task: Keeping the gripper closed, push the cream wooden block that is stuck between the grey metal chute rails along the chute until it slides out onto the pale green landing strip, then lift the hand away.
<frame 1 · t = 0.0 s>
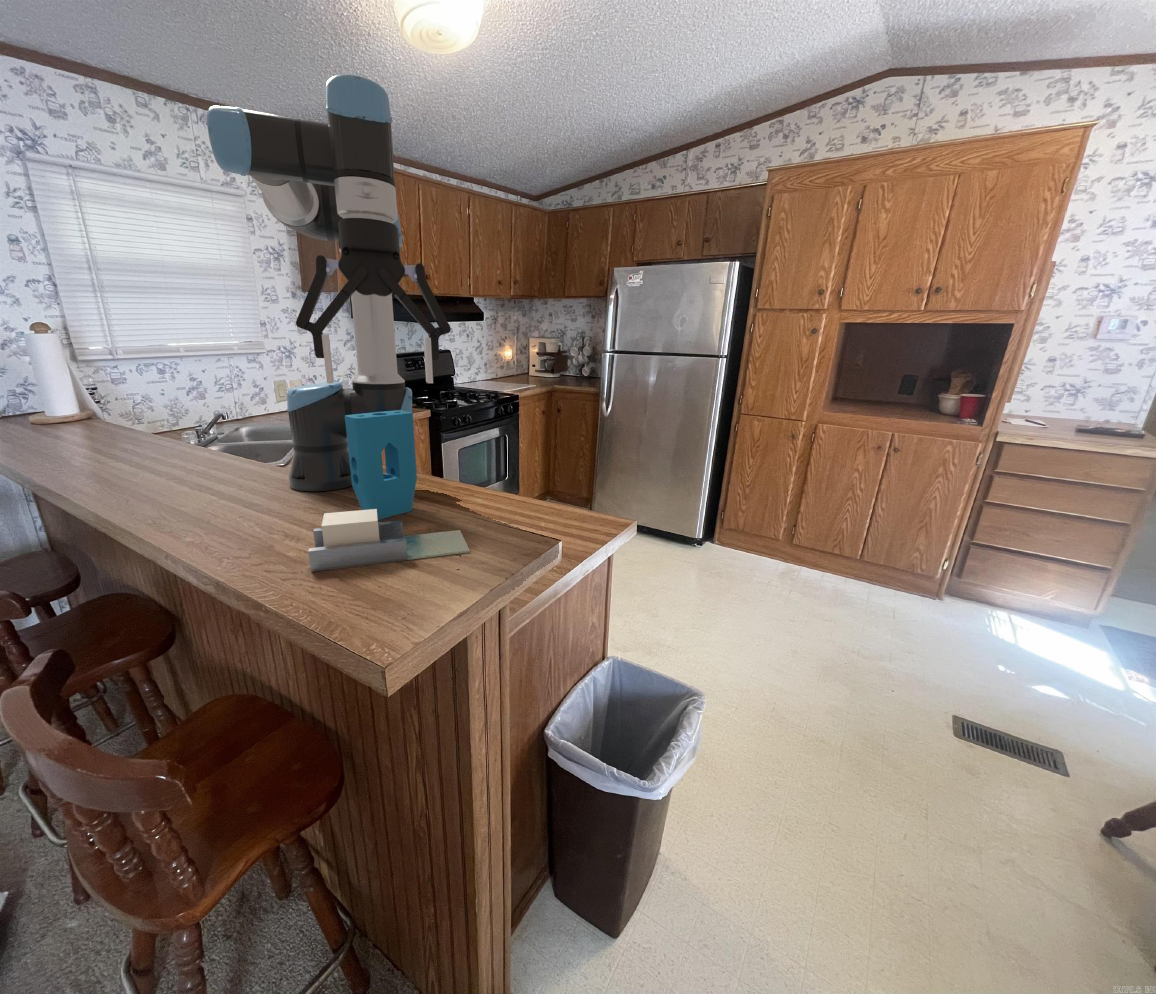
hand: (381, 382, 74), 28 cm above the table, fingers open, 13 cm apart
jammed block: (352, 534, 82), point 4 cm above the table, slide at 0.0 cm
block: (388, 513, 103), on the table
chute: (361, 553, 84), on the table
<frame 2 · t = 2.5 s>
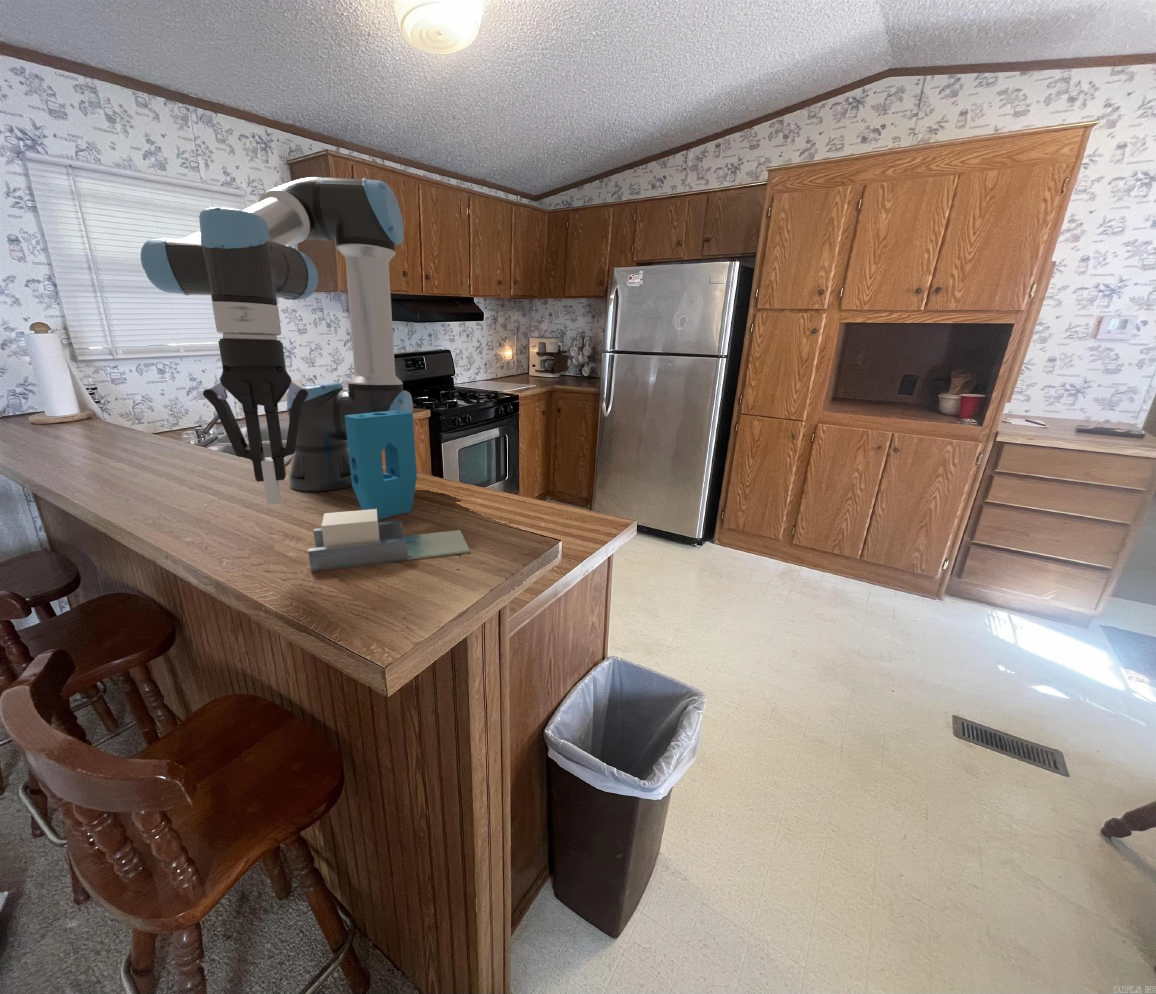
hand: (274, 501, 76), 10 cm above the table, fingers closed
nothing on the table moved.
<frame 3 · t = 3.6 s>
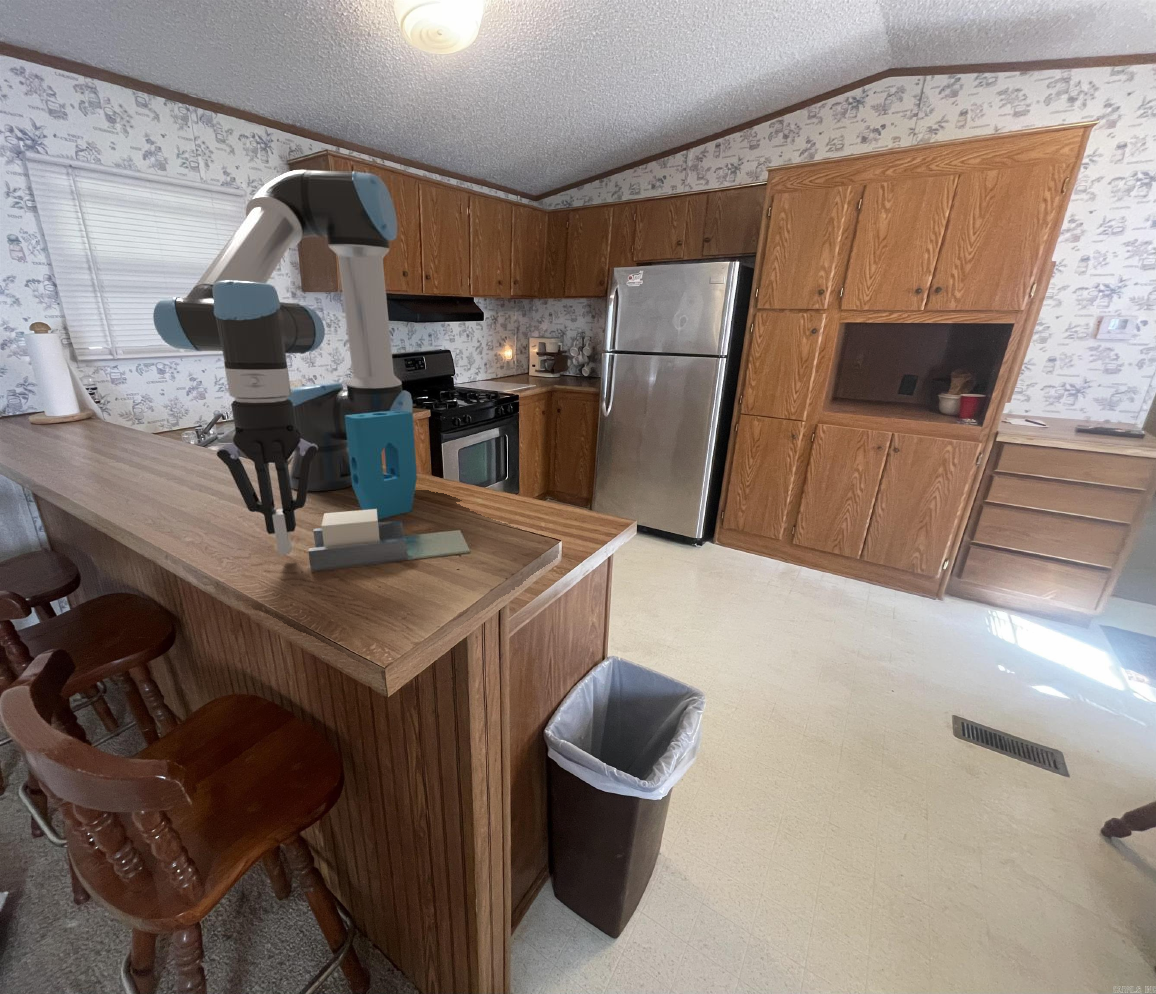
hand: (285, 551, 79), 2 cm above the table, fingers closed
nothing on the table moved.
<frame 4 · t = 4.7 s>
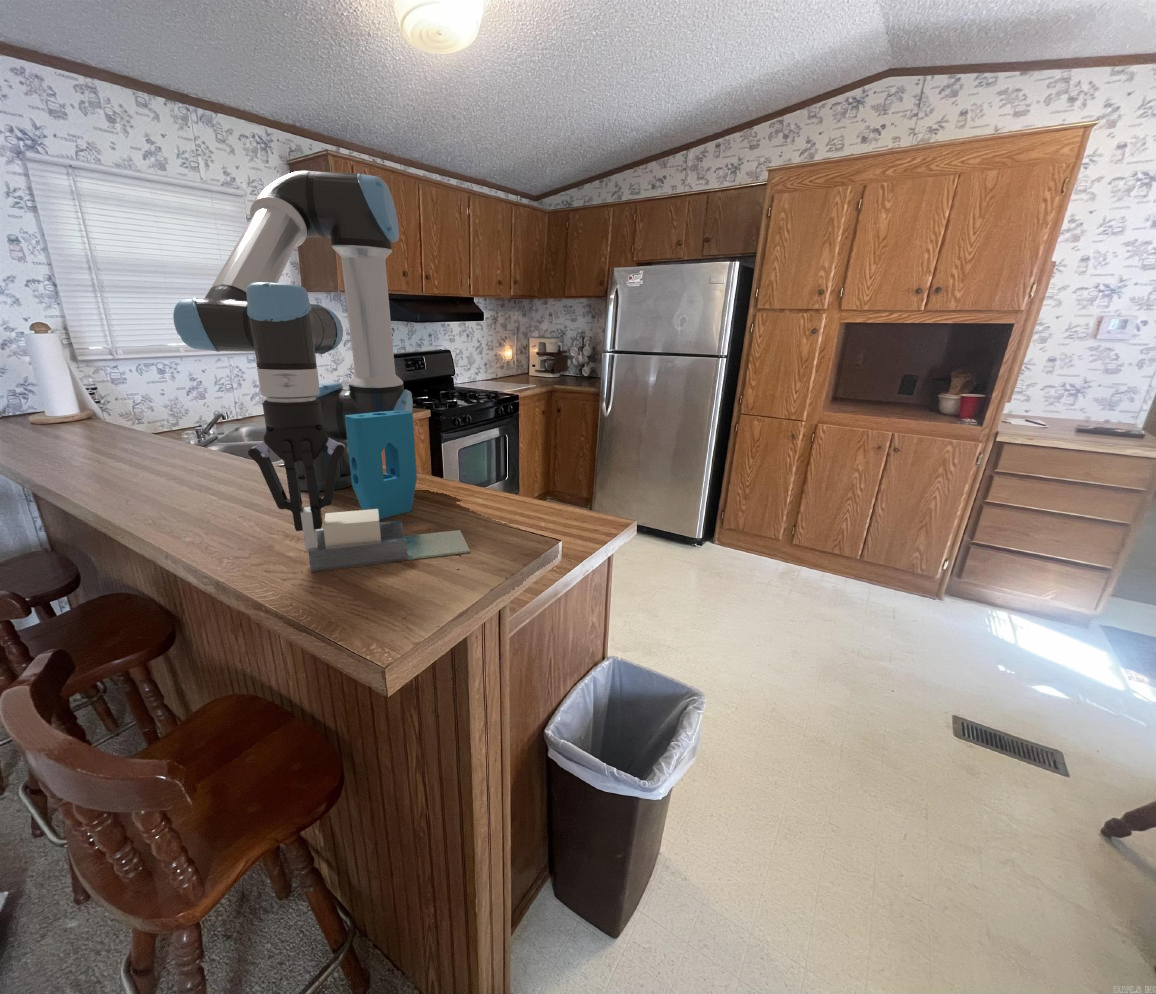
hand: (312, 548, 81), 2 cm above the table, fingers closed
jammed block: (353, 534, 82), point 4 cm above the table, slide at 0.2 cm, touching gripper
everything else where it was.
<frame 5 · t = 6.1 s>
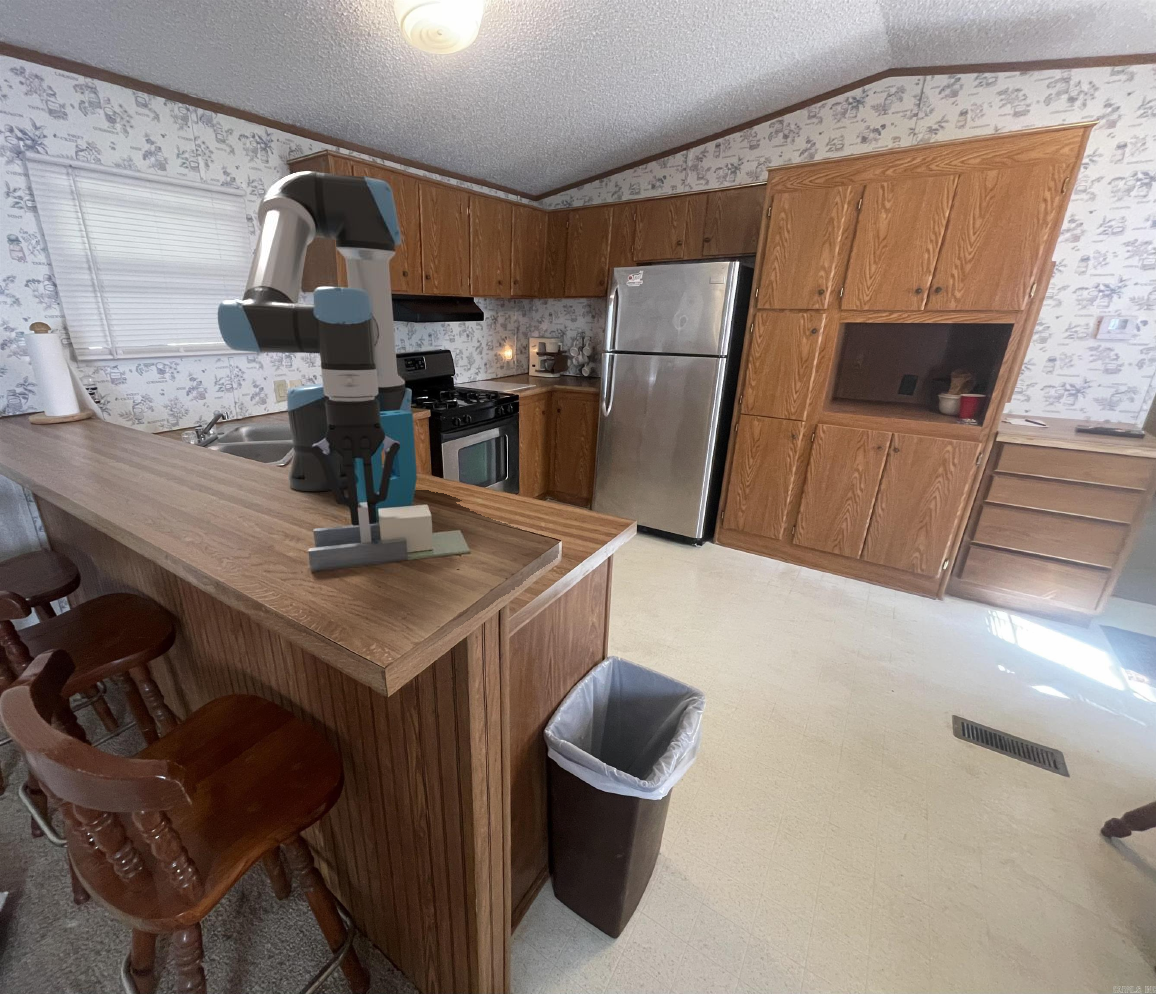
hand: (366, 542, 84), 2 cm above the table, fingers closed
jammed block: (405, 528, 85), point 4 cm above the table, slide at 8.3 cm, touching gripper
everything else where it was.
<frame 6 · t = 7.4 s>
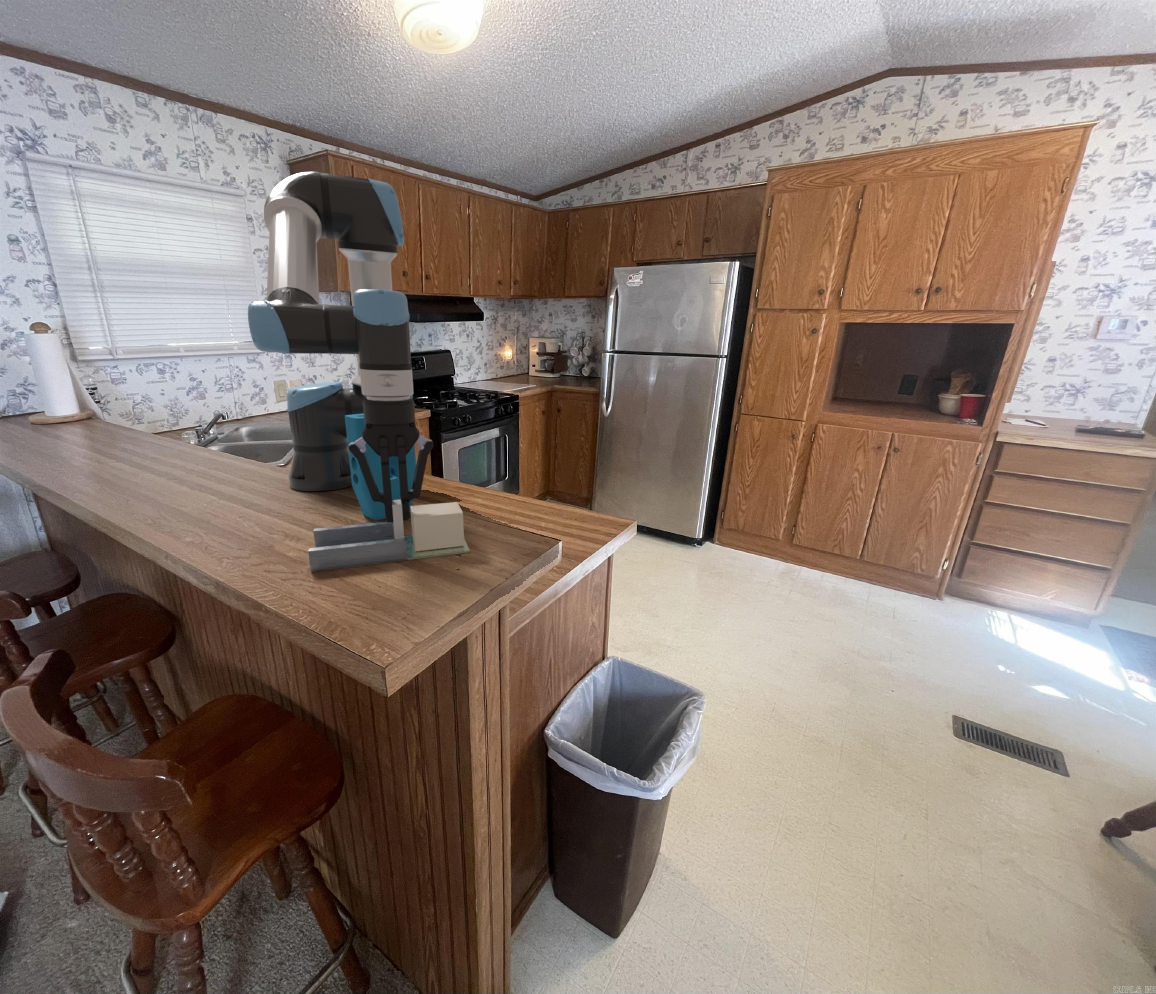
hand: (399, 538, 85), 2 cm above the table, fingers closed
jammed block: (437, 525, 87), point 4 cm above the table, slide at 13.4 cm, touching gripper
everything else where it was.
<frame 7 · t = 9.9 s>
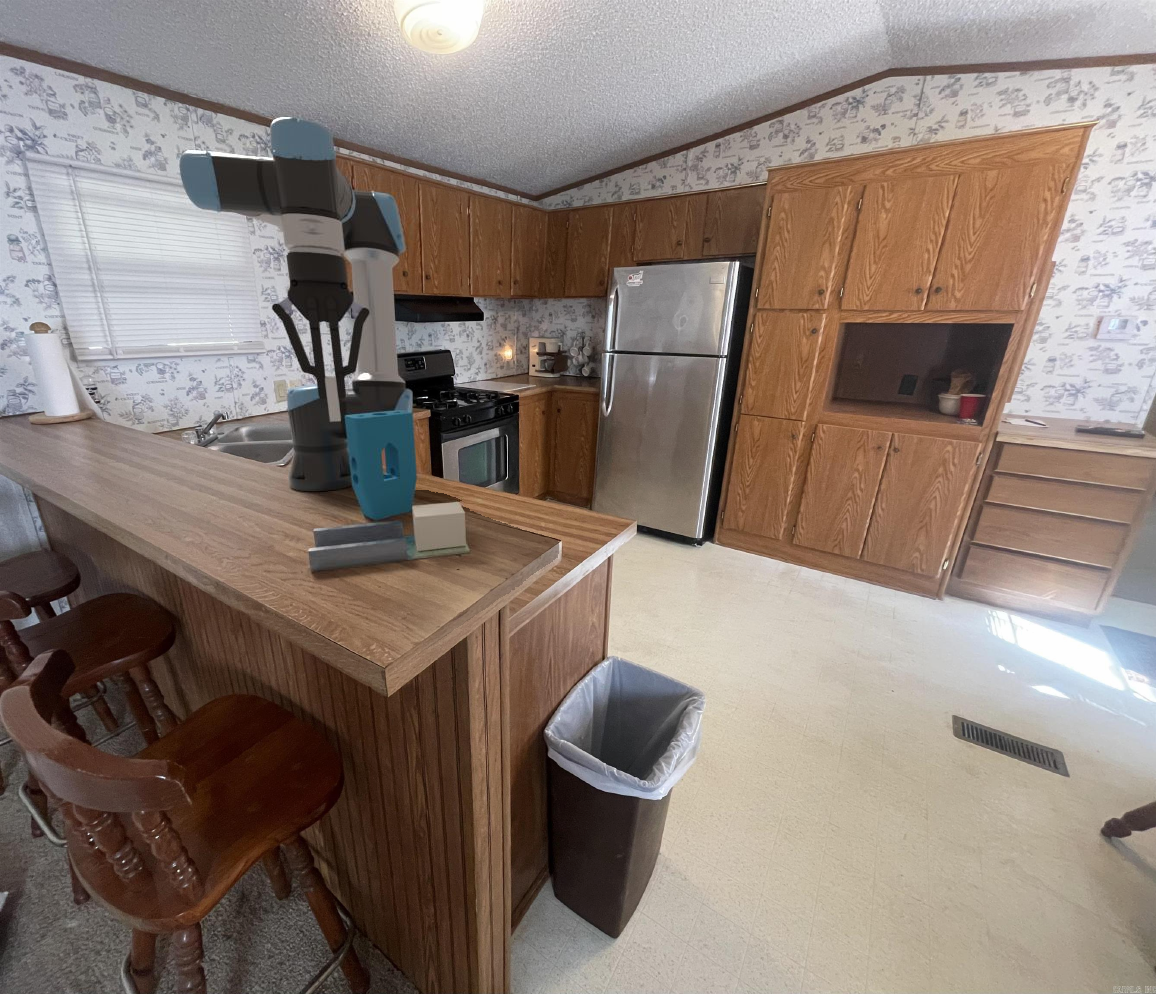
hand: (335, 419, 79), 22 cm above the table, fingers closed
jammed block: (438, 525, 87), point 4 cm above the table, slide at 13.7 cm
everything else where it was.
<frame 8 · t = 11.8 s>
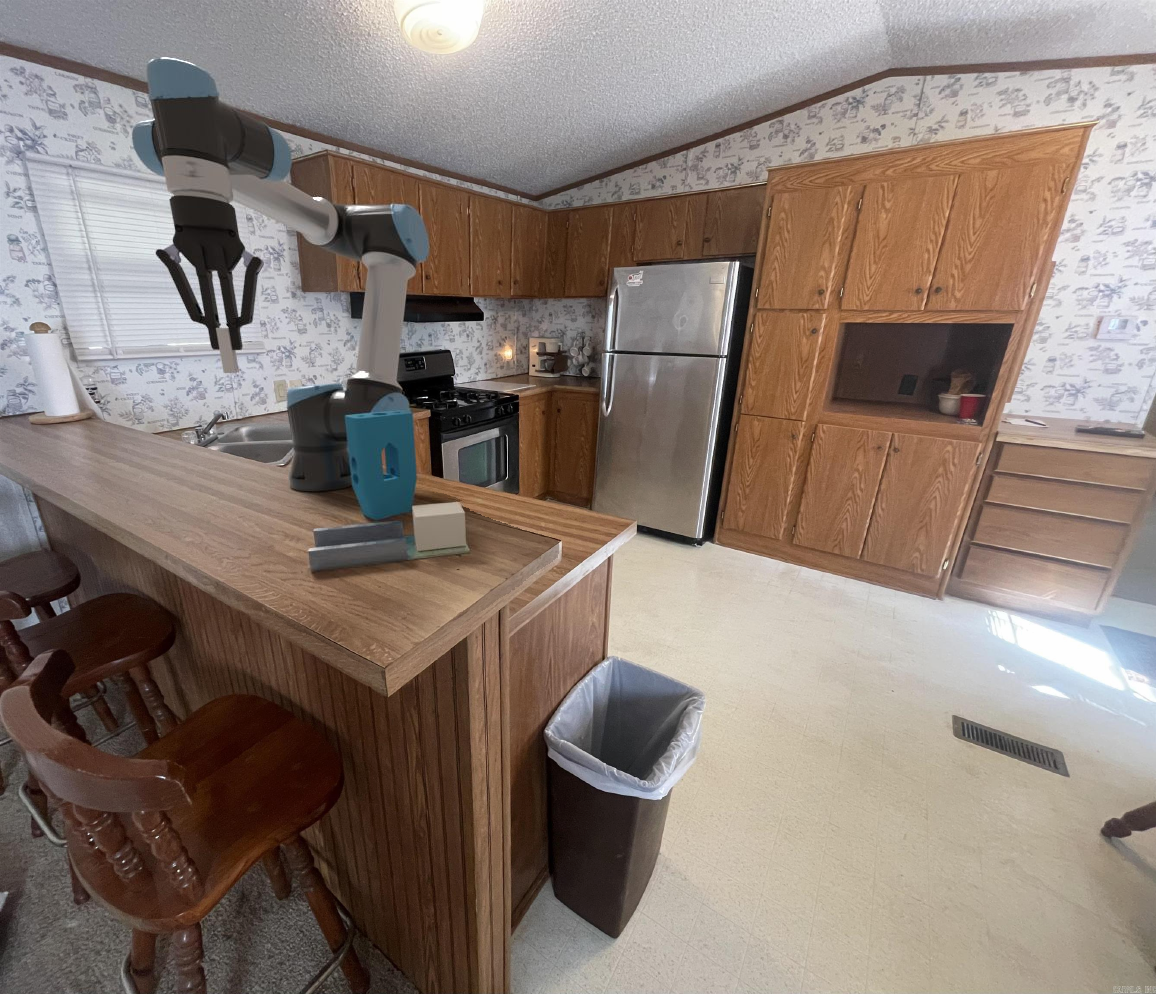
hand: (231, 372, 78), 28 cm above the table, fingers closed
nothing on the table moved.
at the end: jammed block slide at 13.7 cm; jammed block inside the target area (0.7 cm from its centre), resting on chute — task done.
